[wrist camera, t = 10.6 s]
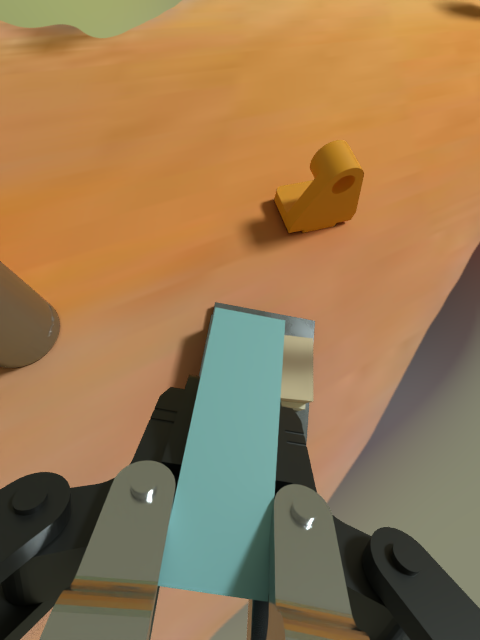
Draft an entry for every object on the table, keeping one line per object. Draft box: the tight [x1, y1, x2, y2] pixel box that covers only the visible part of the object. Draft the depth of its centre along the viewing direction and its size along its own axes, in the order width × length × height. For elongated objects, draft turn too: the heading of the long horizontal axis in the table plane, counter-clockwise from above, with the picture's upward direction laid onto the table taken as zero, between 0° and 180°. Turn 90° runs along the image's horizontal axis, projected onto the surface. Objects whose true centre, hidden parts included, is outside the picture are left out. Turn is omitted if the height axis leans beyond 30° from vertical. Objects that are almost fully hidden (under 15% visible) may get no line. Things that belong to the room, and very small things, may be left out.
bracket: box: [274, 140, 364, 233], centre depth 44 cm, size 11×7×12 cm
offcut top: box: [281, 335, 313, 404], centre depth 35 cm, size 7×4×2 cm, turn 175°
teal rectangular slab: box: [158, 307, 285, 602], centre depth 14 cm, size 6×2×16 cm, turn 171°
